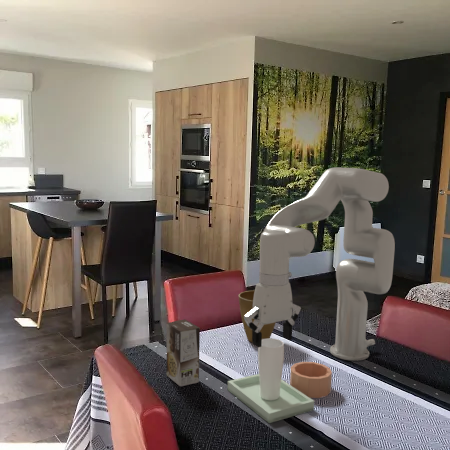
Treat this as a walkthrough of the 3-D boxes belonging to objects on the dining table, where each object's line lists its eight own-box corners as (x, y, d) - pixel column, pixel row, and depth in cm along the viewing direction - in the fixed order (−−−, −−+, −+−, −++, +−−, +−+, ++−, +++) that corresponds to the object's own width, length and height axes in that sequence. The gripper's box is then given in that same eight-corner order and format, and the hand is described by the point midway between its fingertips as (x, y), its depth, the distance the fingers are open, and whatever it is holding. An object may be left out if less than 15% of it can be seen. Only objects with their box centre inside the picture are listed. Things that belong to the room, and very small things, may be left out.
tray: (269, 379, 149) (269, 371, 149) (313, 410, 132) (314, 400, 132) (227, 389, 142) (227, 381, 142) (268, 423, 125) (269, 413, 125)
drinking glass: (281, 404, 133) (282, 348, 131) (255, 401, 134) (256, 346, 132) (283, 392, 140) (285, 339, 138) (258, 389, 141) (260, 337, 139)
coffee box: (199, 382, 146) (200, 327, 144) (179, 387, 143) (180, 331, 141) (185, 370, 154) (185, 318, 152) (165, 375, 151) (165, 321, 148)
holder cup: (312, 377, 152) (313, 359, 151) (338, 392, 142) (339, 373, 141) (282, 384, 146) (283, 366, 145) (307, 401, 137) (308, 381, 136)
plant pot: (281, 348, 173) (283, 302, 171) (237, 347, 173) (238, 301, 171) (277, 332, 188) (279, 290, 186) (237, 331, 188) (238, 289, 186)
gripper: (291, 271, 140) (290, 331, 143) (237, 279, 131) (236, 343, 134) (309, 277, 134) (307, 340, 136) (253, 286, 125) (252, 353, 128)
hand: (272, 341), depth 135 cm, fingers open, 9 cm apart
